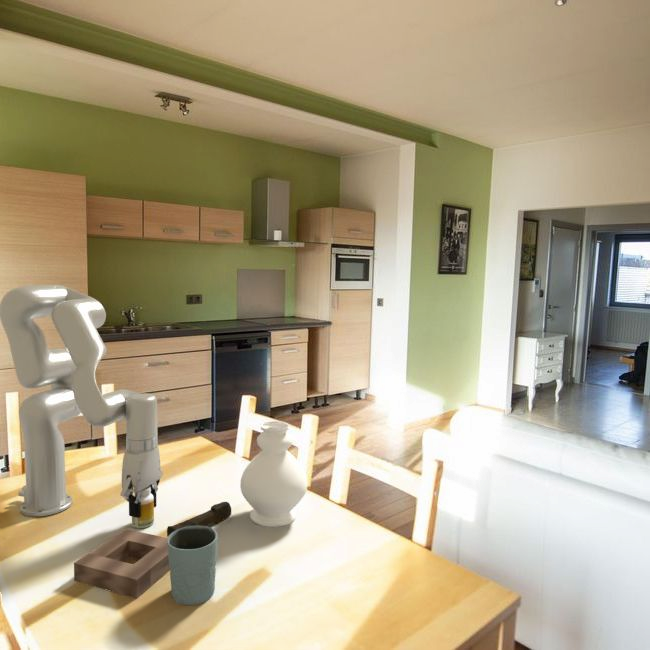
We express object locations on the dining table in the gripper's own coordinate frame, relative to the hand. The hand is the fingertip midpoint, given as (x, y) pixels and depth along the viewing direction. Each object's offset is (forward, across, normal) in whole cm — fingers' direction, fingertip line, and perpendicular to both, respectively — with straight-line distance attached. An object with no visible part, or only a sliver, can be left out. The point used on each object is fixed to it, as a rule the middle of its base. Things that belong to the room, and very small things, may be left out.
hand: (143, 510), depth 139 cm
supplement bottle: (+4, 0, 0) cm, 4 cm away
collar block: (+4, +18, +11) cm, 21 cm away
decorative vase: (+4, -17, +29) cm, 34 cm away
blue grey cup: (+4, +20, +28) cm, 35 cm away
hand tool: (+4, -4, +15) cm, 16 cm away
